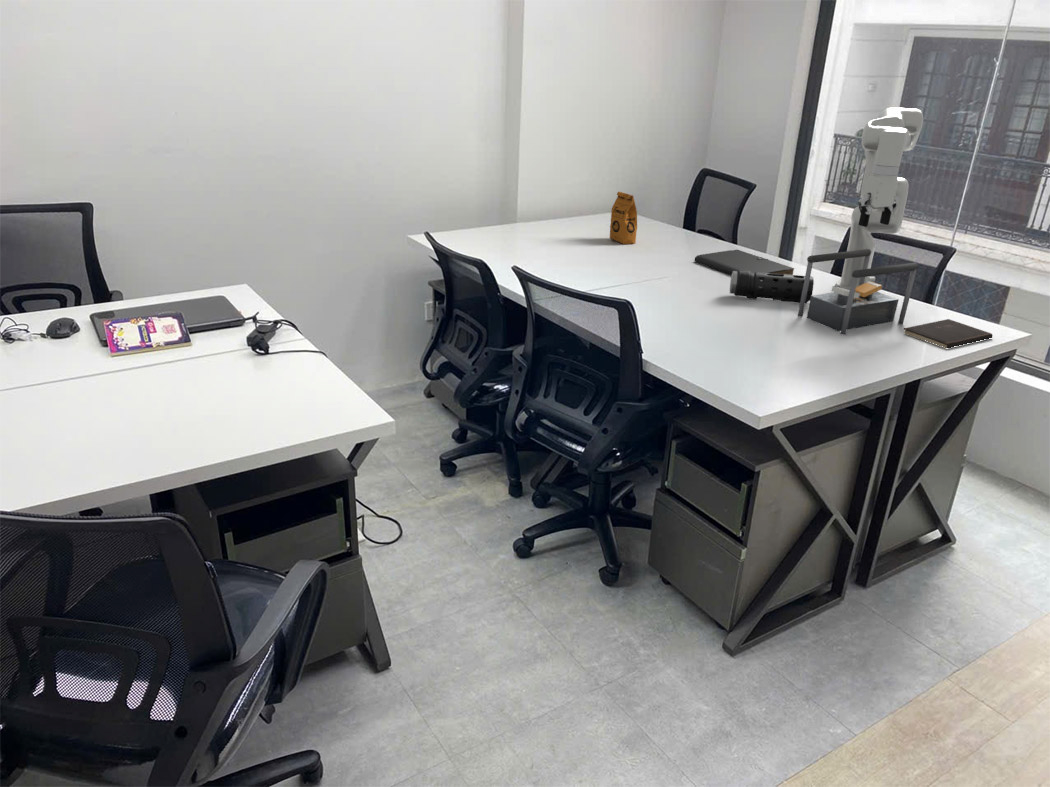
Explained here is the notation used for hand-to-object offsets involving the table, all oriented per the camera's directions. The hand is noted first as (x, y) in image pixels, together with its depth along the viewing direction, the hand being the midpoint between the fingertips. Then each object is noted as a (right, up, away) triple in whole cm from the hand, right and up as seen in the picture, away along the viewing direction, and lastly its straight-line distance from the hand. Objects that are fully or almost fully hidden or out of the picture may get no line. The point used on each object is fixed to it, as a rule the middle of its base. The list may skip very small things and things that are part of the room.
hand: (873, 224), depth 252 cm
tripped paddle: (+2, -20, +10) cm, 22 cm away
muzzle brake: (-25, -21, +31) cm, 45 cm away
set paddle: (-7, -21, +6) cm, 23 cm away
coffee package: (-68, +15, +106) cm, 127 cm away
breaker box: (-2, -30, +12) cm, 32 cm away
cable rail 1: (-7, -26, +20) cm, 34 cm away
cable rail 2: (+2, -33, +5) cm, 34 cm away
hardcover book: (+24, -37, +1) cm, 44 cm away
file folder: (-23, -4, +69) cm, 73 cm away
